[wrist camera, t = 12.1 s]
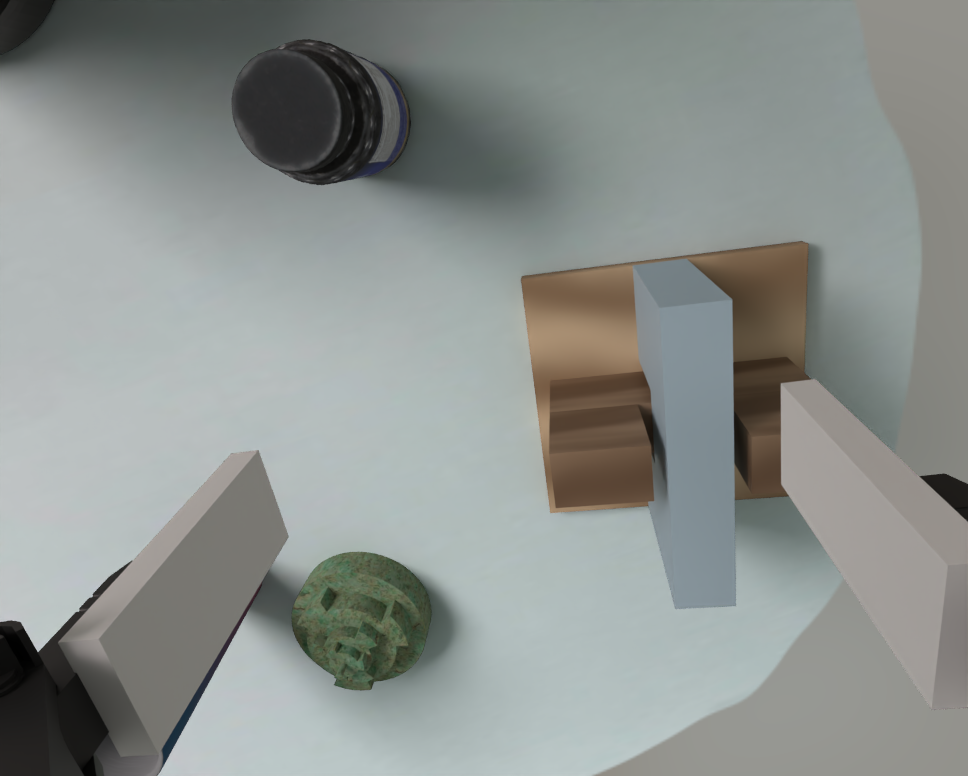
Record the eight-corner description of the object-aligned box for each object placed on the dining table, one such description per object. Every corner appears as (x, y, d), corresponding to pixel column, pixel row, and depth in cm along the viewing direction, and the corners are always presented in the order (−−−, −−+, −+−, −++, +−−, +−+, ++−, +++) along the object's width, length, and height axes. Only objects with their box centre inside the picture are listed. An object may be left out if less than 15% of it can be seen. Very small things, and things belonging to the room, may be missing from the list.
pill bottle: (300, 160, 37) (205, 167, 27) (316, 46, 35) (218, 7, 25) (401, 188, 37) (345, 206, 27) (424, 76, 35) (371, 50, 25)
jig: (521, 276, 39) (510, 325, 28) (801, 241, 36) (899, 281, 26) (550, 505, 44) (549, 615, 34) (794, 487, 42) (873, 600, 32)
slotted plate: (632, 265, 37) (659, 308, 27) (686, 258, 36) (732, 299, 27) (648, 505, 42) (675, 609, 33) (695, 502, 42) (735, 605, 32)
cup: (255, 530, 47) (132, 692, 33) (286, 603, 50) (182, 784, 36) (174, 542, 49) (22, 704, 35) (207, 613, 51) (77, 792, 37)
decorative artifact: (361, 526, 47) (278, 598, 50) (330, 589, 40) (237, 668, 43) (458, 611, 48) (373, 675, 52) (444, 684, 42) (347, 753, 45)
